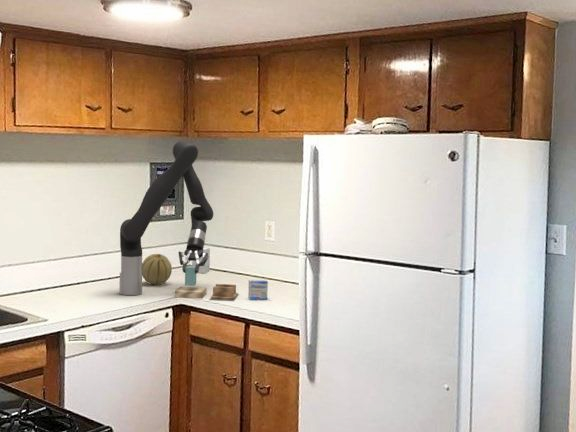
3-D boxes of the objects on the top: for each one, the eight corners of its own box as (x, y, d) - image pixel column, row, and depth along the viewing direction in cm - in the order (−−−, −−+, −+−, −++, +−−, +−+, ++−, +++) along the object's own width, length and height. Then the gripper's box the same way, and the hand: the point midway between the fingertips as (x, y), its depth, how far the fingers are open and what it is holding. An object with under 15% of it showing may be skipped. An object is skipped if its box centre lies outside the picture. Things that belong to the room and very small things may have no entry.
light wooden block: (175, 297, 334) (175, 291, 334) (180, 293, 344) (180, 286, 344) (202, 299, 333) (202, 292, 333) (206, 294, 343) (206, 288, 343)
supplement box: (210, 271, 403) (210, 247, 402) (204, 273, 396) (205, 249, 395) (197, 270, 405) (197, 247, 404) (191, 272, 398) (191, 248, 397)
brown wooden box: (210, 299, 332) (210, 287, 331) (215, 293, 344) (215, 282, 343) (233, 300, 331) (233, 288, 330) (237, 294, 343) (237, 283, 342)
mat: (208, 300, 330) (208, 300, 330) (215, 293, 346) (215, 292, 346) (233, 301, 329) (233, 301, 329) (239, 294, 345) (239, 293, 345)
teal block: (184, 285, 337) (185, 267, 336) (186, 284, 340) (186, 266, 339) (194, 285, 336) (195, 267, 336) (196, 284, 339) (196, 266, 338)
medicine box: (249, 300, 332) (250, 281, 331) (248, 298, 336) (248, 279, 336) (267, 300, 334) (267, 281, 333) (265, 298, 338) (266, 279, 337)
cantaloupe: (155, 280, 374) (156, 250, 373) (178, 284, 366) (178, 253, 365) (133, 284, 362) (134, 253, 361) (156, 288, 354) (156, 256, 352)
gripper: (179, 235, 344) (172, 266, 333) (210, 237, 343) (205, 268, 332) (181, 245, 350) (175, 276, 339) (212, 247, 349) (206, 278, 338)
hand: (190, 272), depth 335 cm, fingers closed on teal block, 4 cm apart
